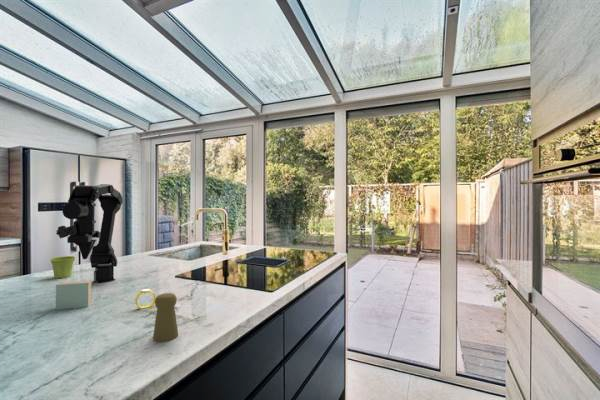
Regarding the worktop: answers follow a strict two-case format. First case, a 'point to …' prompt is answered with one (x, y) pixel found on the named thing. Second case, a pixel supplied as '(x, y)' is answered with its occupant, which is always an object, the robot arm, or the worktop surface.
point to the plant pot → (62, 266)
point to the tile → (73, 294)
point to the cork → (165, 318)
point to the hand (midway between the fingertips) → (84, 259)
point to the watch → (145, 292)
